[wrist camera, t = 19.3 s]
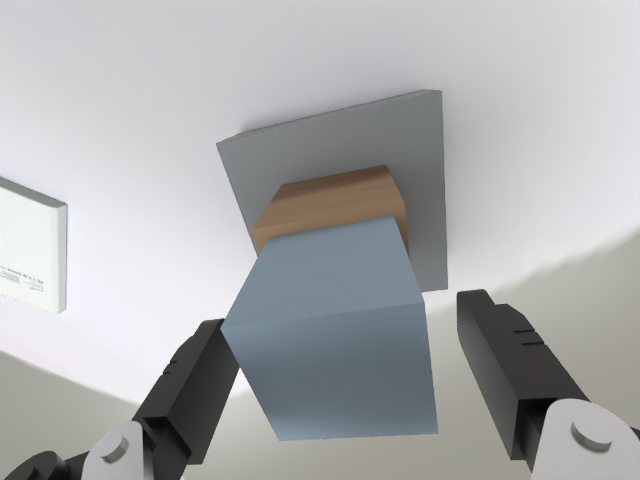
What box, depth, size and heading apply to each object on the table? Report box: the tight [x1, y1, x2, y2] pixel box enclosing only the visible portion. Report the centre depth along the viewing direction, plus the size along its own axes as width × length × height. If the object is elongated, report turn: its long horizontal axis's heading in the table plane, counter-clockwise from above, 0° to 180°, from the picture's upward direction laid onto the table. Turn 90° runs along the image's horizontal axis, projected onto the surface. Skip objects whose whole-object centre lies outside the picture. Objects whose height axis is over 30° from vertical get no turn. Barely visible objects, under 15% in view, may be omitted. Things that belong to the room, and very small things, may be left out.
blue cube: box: [220, 215, 438, 441], centre depth 10 cm, size 5×5×5 cm
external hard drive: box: [0, 177, 67, 314], centre depth 26 cm, size 2×8×12 cm
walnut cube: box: [251, 165, 410, 260], centre depth 15 cm, size 6×6×6 cm
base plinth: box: [216, 90, 448, 292], centre depth 19 cm, size 12×12×4 cm
